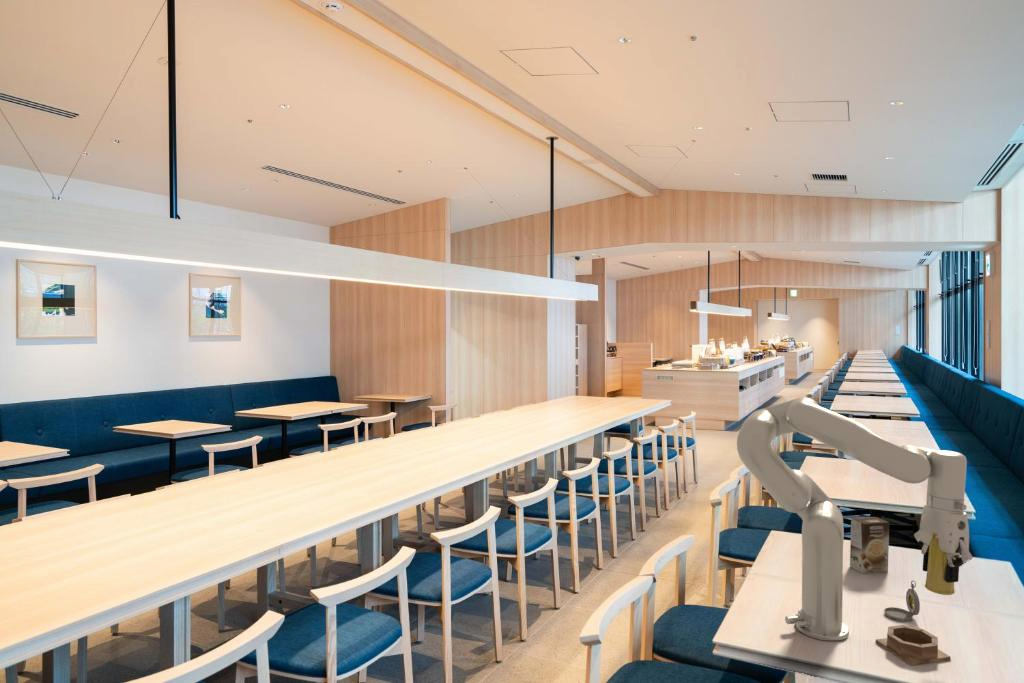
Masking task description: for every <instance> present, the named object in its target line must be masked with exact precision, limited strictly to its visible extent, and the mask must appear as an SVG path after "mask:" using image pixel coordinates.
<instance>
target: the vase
mask: <svg viewBox="0 0 1024 683" xmlns="http://www.w3.org/2000/svg"><path fill="white" fill-rule="evenodd" d="M932 534H933V536H932V539H931V540H930V546H929V555H928V567H927V572H926V579H925V584H924V587H925V589H926V590H928V591H929V592H931V593H933V594H934V593H935V594H938V595H941V596H942V595H943V596H951V595H954V594H955V582H951V583H948V582H946V581H945V574H946V566H947V565H949V564H948V560H947V555H946V553H945V552H943V551H941V550H940V548H939V541H938V538H936V536H937V534H936V533H934V532H932ZM953 559H954V560H955V556H954V555H953Z"/></svg>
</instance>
